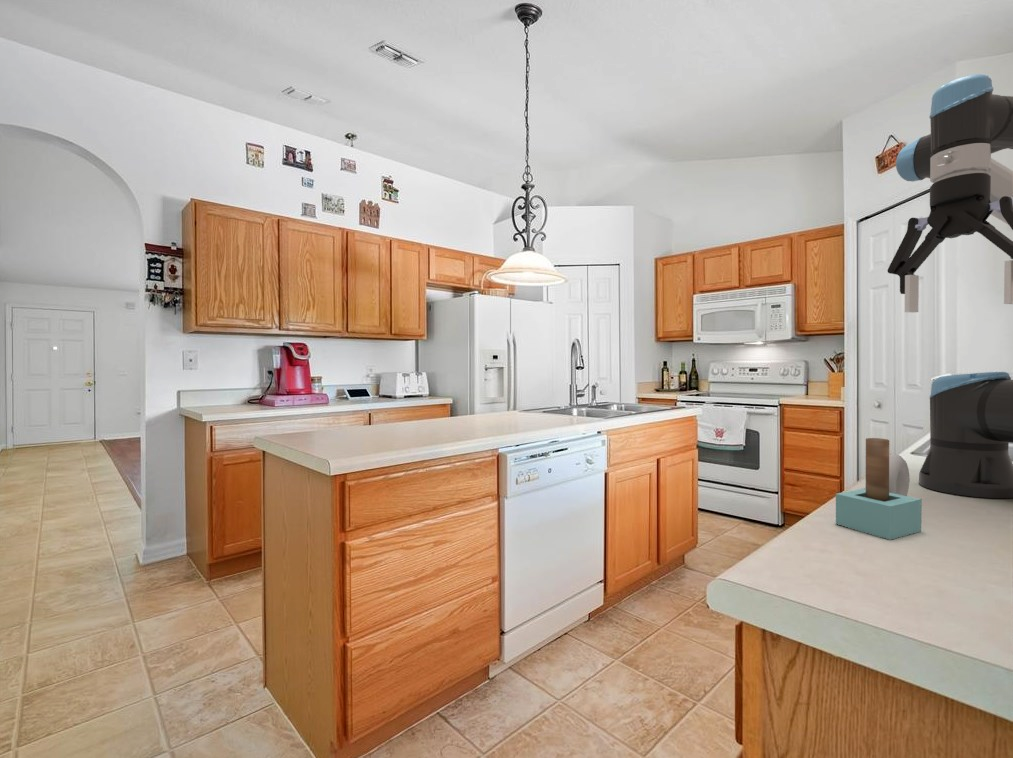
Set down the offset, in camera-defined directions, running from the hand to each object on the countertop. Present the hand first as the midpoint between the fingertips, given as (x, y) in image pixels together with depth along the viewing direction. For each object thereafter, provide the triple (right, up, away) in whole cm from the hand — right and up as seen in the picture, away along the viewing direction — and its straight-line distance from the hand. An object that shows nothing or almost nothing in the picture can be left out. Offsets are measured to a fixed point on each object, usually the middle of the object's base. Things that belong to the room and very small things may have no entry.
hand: (957, 308), depth 85 cm
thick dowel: (-17, -35, -4) cm, 39 cm away
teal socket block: (-17, -35, -4) cm, 39 cm away
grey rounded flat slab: (-8, -35, +5) cm, 36 cm away
